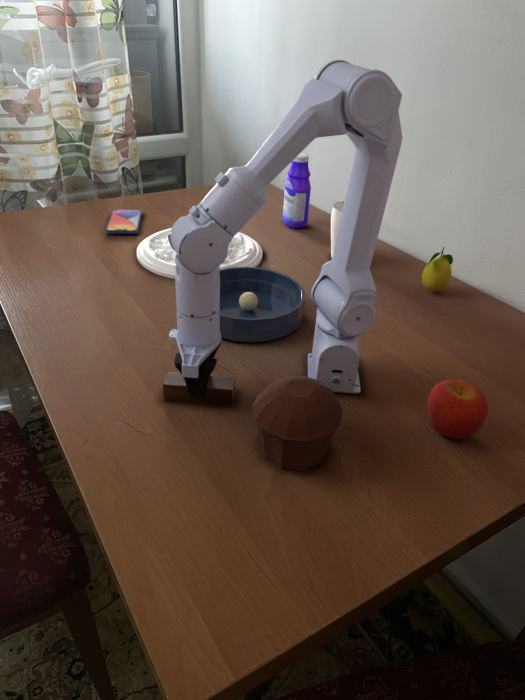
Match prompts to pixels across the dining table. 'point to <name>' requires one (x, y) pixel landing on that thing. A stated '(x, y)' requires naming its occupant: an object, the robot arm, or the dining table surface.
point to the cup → (335, 223)
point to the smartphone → (124, 222)
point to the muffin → (296, 421)
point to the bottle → (297, 193)
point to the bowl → (259, 304)
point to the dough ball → (248, 301)
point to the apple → (457, 408)
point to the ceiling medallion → (161, 255)
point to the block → (216, 394)
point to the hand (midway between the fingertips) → (199, 388)
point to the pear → (437, 272)
